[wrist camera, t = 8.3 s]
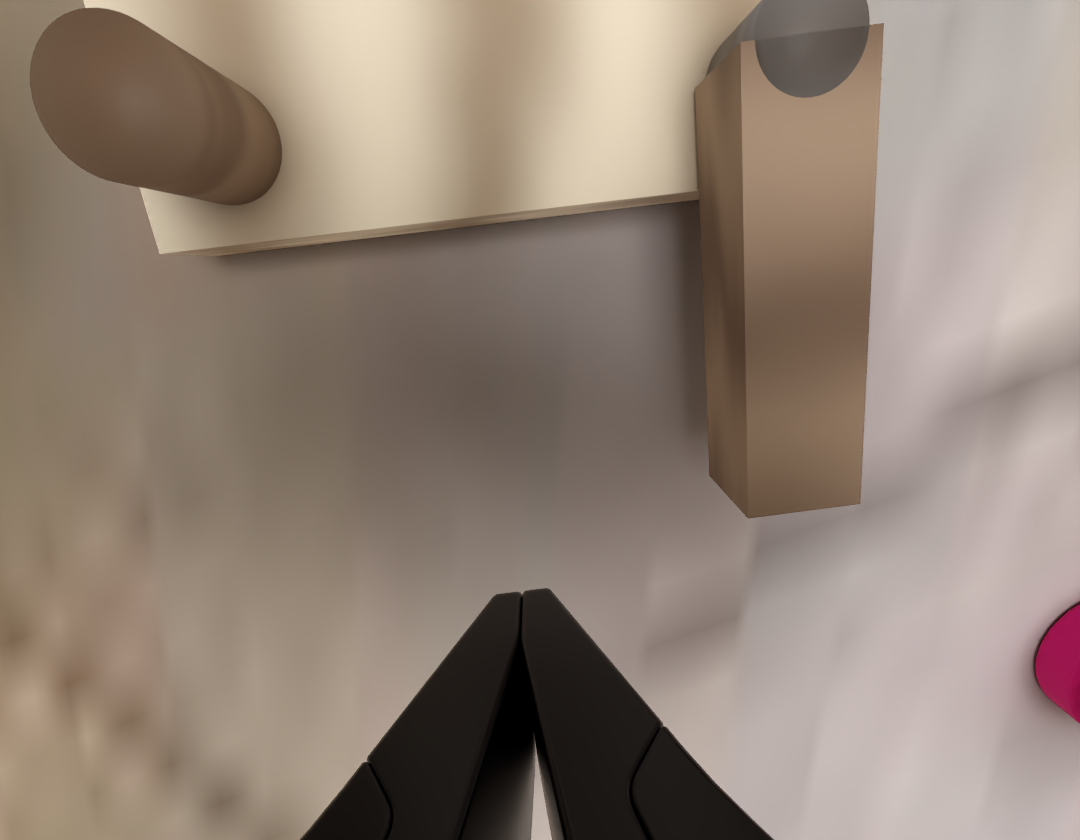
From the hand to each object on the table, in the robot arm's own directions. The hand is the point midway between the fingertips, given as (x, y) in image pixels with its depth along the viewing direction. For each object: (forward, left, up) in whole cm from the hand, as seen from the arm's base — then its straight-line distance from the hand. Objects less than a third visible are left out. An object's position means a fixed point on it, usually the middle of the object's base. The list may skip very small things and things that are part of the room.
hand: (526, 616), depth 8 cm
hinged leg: (+7, +4, -9) cm, 12 cm away
